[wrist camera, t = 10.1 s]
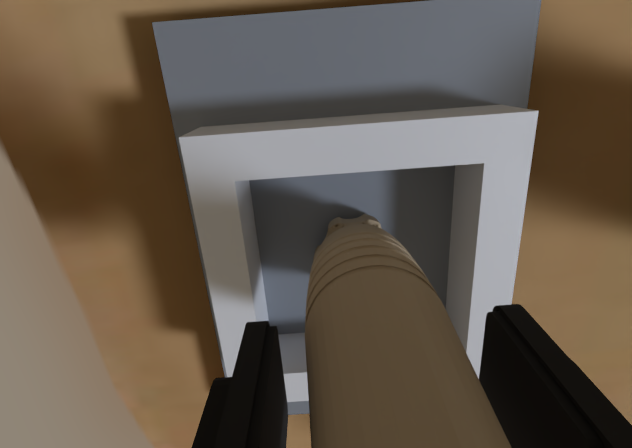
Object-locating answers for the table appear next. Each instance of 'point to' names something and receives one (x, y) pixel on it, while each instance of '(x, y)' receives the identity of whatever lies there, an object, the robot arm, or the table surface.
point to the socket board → (353, 152)
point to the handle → (386, 351)
